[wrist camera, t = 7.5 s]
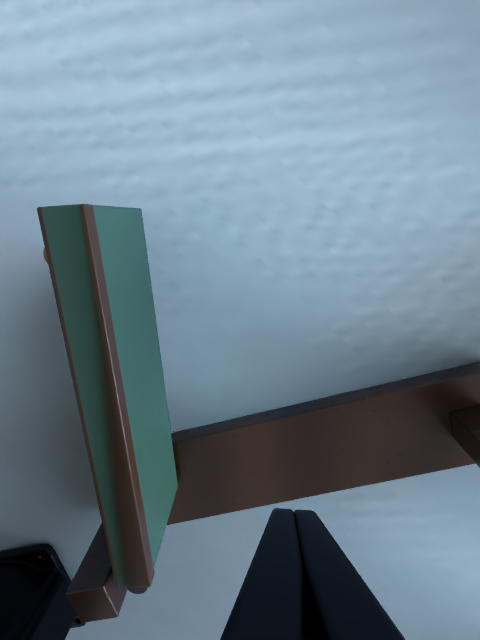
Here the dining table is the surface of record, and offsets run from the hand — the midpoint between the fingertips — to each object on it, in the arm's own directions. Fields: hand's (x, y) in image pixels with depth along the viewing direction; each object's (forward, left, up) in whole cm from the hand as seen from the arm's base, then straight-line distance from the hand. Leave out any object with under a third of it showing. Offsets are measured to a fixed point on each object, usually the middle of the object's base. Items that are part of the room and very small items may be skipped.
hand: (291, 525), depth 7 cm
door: (-7, +1, -10) cm, 12 cm away
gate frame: (0, -6, -11) cm, 13 cm away
